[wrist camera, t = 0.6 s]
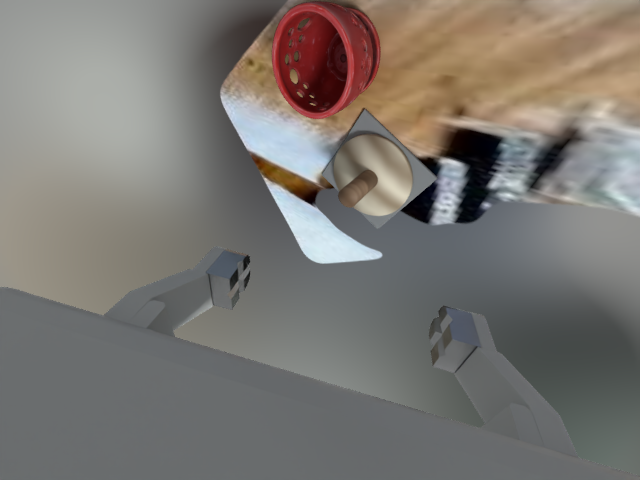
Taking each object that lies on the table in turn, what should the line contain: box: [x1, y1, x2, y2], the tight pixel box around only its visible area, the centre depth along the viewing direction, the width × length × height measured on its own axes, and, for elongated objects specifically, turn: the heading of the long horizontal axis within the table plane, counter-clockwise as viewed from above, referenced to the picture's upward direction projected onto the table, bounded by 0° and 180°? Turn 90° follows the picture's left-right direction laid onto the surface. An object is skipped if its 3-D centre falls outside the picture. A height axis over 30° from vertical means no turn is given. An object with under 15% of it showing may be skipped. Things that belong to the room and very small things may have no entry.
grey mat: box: [322, 109, 437, 229], centre depth 53 cm, size 17×17×1 cm
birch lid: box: [334, 134, 413, 216], centre depth 50 cm, size 16×16×10 cm
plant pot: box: [272, 1, 380, 119], centre depth 40 cm, size 13×13×12 cm
